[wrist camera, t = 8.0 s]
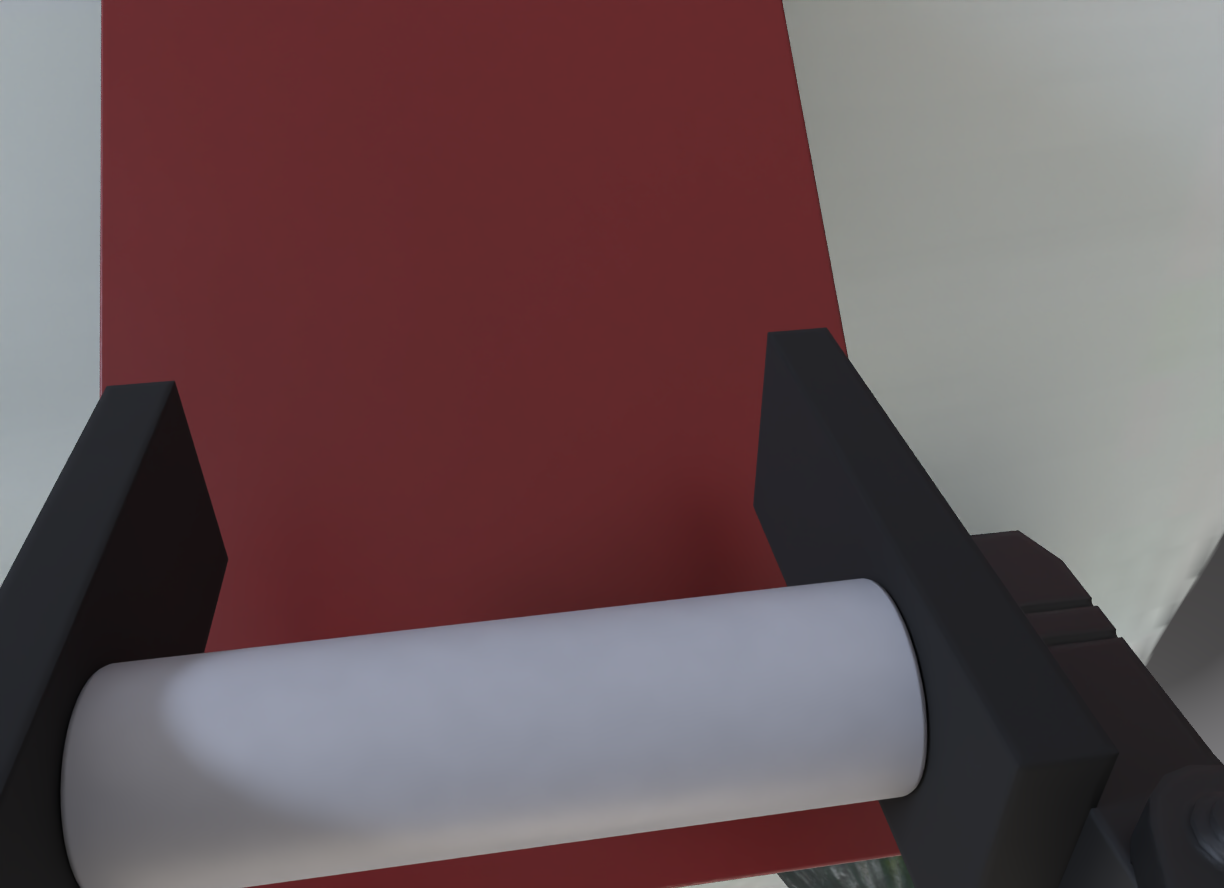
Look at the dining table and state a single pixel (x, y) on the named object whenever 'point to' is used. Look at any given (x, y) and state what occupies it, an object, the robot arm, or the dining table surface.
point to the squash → (853, 875)
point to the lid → (477, 455)
